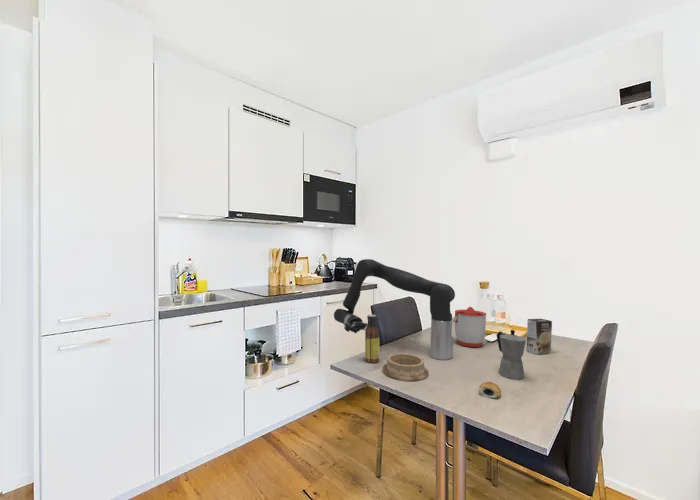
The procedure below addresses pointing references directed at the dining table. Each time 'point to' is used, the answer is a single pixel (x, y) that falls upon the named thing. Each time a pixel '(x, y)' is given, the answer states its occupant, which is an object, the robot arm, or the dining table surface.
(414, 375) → the bottle holder
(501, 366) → the coffeepot
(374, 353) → the sauce bottle
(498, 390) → the pastry
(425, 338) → the dining table surface
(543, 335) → the coffee box
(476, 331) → the citrus juicer
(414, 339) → the dining table surface
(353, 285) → the robot arm
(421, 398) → the dining table surface
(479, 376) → the dining table surface
